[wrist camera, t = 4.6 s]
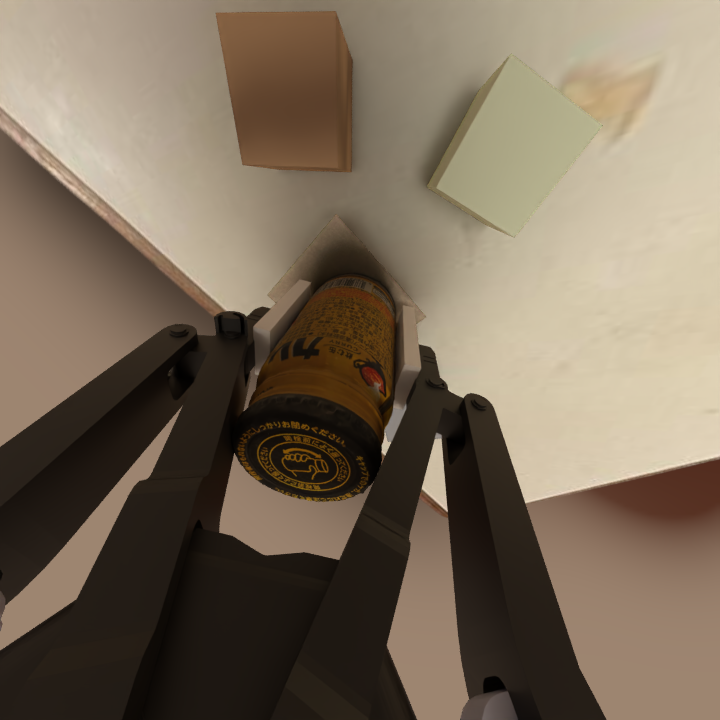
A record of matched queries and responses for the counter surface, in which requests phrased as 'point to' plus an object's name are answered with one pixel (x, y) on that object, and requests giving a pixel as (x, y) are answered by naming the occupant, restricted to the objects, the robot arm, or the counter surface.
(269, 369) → the condiment
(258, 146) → the walnut cube
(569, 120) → the sage cube
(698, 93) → the counter surface
